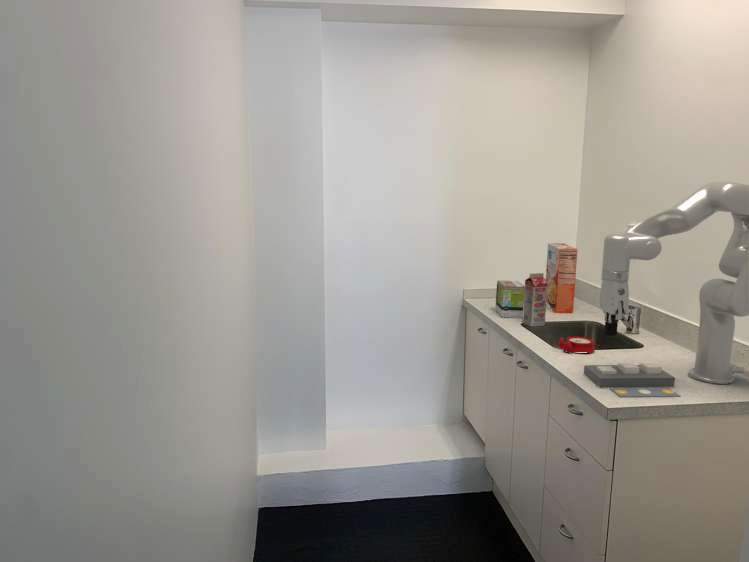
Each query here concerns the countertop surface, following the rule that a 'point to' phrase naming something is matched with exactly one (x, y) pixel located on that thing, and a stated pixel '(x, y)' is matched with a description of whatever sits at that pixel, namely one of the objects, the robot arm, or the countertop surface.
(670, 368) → the countertop surface
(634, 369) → the key middle
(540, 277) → the juice carton
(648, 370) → the key
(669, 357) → the countertop surface
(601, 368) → the key
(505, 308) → the tea box
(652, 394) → the pattern card
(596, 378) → the button board
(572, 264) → the pasta box
